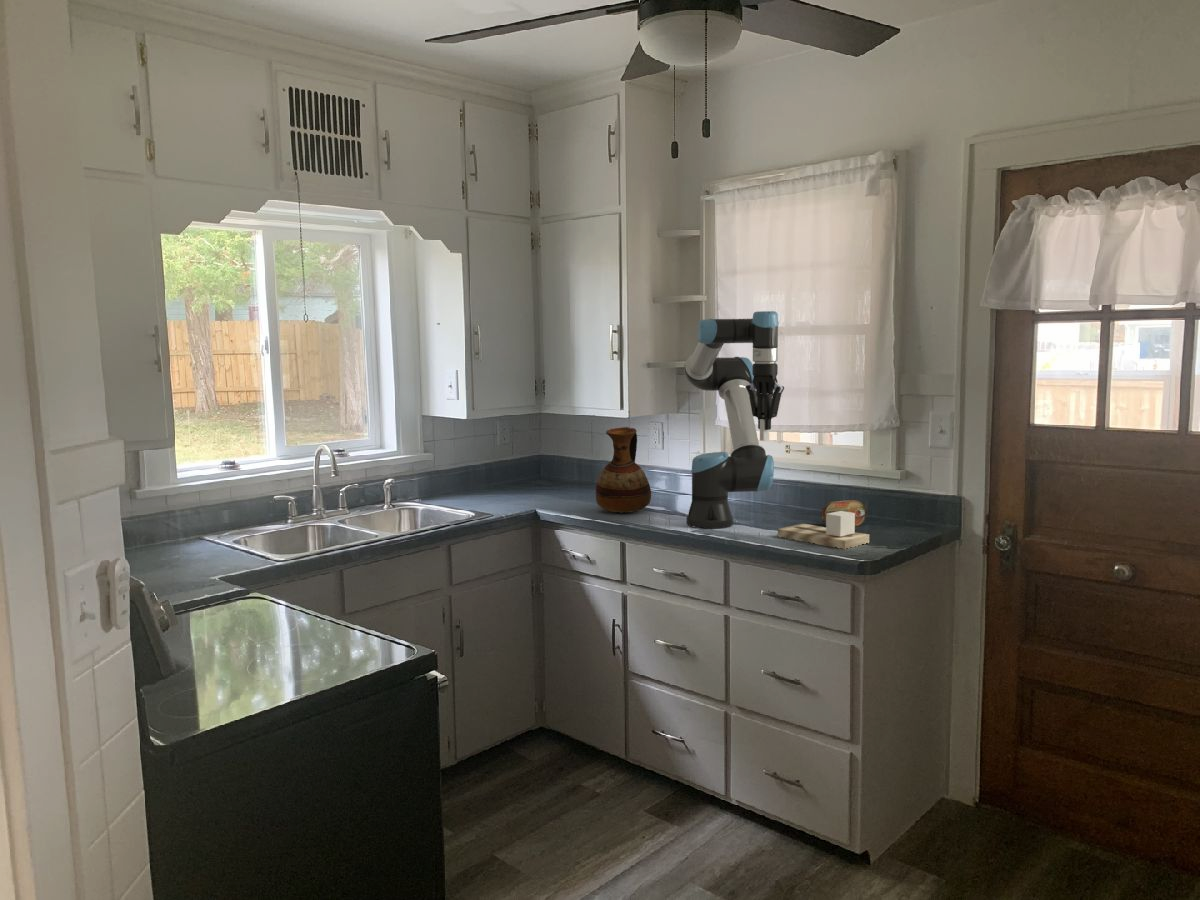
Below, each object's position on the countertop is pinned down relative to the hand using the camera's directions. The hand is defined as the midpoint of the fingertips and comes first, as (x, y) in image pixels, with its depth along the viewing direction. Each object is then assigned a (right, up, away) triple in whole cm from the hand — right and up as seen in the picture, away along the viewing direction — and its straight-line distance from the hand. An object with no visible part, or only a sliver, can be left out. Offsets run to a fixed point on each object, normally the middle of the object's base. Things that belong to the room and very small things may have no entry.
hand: (764, 440), depth 282 cm
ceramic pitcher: (-42, -25, +47) cm, 68 cm away
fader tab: (+20, -28, -12) cm, 36 cm away
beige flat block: (+16, -30, -7) cm, 35 cm away
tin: (+28, -28, +14) cm, 41 cm away
